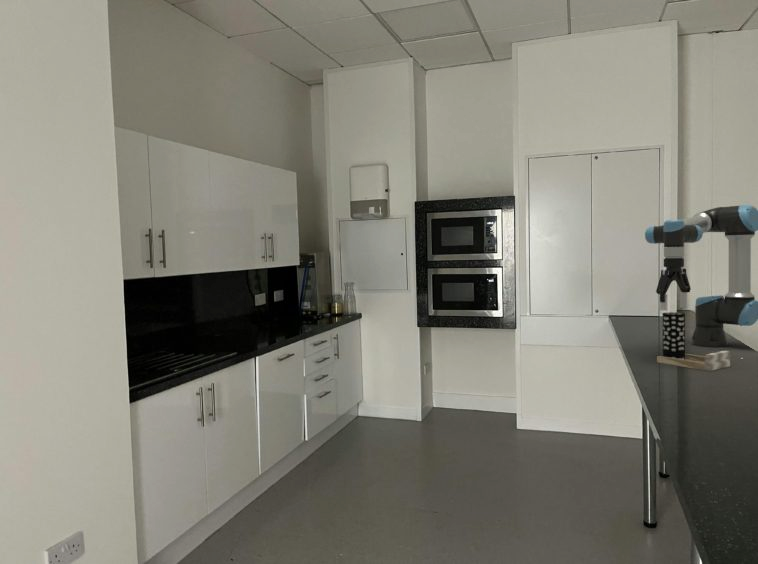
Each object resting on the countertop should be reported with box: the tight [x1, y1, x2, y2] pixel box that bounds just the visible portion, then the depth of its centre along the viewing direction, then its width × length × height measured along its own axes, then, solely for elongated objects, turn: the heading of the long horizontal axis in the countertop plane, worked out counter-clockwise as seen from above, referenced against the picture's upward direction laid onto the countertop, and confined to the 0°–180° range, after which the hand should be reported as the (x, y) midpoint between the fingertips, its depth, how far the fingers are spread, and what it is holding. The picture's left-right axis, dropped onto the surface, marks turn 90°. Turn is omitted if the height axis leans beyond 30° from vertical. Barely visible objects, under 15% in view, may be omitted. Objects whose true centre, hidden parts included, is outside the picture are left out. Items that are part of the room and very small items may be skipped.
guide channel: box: [656, 350, 731, 372], centre depth 239 cm, size 14×22×6 cm, turn 31°
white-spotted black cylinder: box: [662, 311, 686, 360], centre depth 246 cm, size 8×8×20 cm
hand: (673, 309), depth 245 cm, fingers open, 13 cm apart
